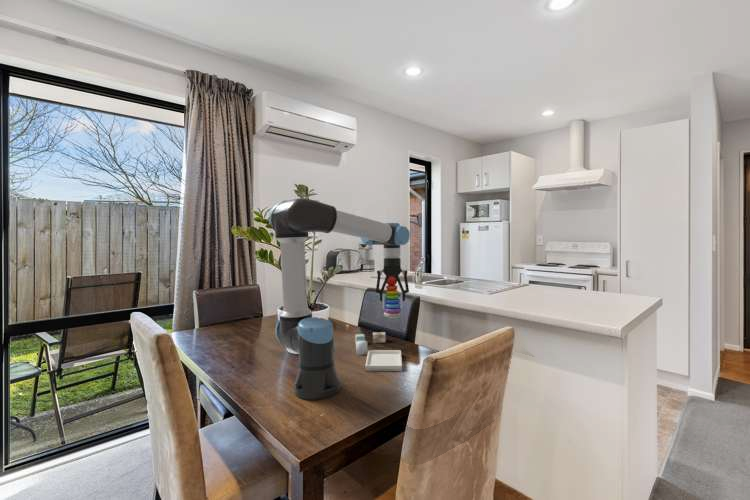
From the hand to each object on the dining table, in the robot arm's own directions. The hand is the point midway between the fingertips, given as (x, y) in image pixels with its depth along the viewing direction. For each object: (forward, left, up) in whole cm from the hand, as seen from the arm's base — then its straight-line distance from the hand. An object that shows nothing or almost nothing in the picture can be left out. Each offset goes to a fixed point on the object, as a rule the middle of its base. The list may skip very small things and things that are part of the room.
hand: (392, 308), depth 159 cm
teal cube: (-16, +8, -19) cm, 26 cm away
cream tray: (-4, -17, -19) cm, 25 cm away
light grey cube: (-14, -6, -19) cm, 24 cm away
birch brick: (-7, +11, -19) cm, 23 cm away
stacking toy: (0, 0, -4) cm, 4 cm away
